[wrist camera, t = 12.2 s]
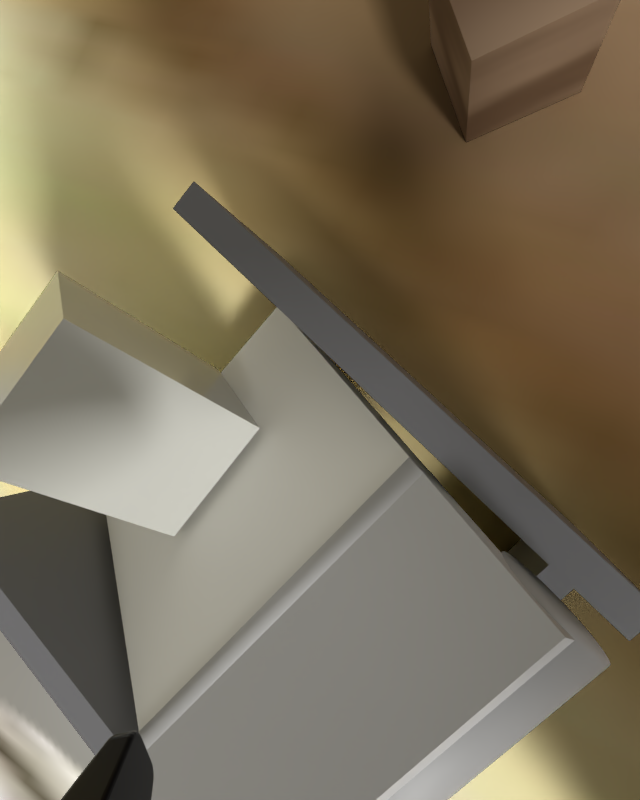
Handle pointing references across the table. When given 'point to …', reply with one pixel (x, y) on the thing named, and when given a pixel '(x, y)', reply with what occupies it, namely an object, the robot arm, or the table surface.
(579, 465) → the table surface
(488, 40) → the stand
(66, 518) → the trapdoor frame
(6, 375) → the grey rectangular block
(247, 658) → the trapdoor
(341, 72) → the table surface
